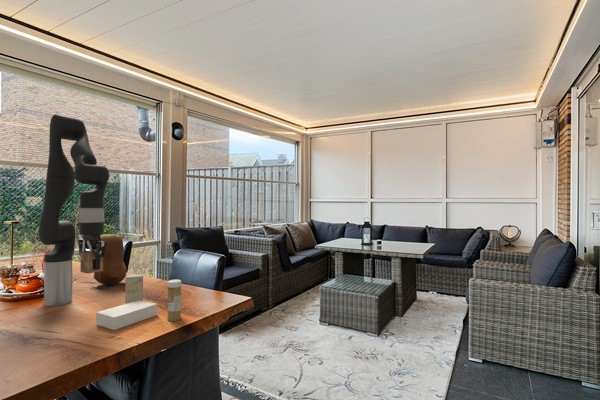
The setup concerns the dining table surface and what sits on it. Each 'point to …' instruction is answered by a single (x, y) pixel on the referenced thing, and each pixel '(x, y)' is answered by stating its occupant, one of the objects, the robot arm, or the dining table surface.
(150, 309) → the white block
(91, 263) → the walnut block
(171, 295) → the sprinkles bottle
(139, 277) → the skincare box
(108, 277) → the butternut squash
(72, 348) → the dining table surface
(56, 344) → the dining table surface
